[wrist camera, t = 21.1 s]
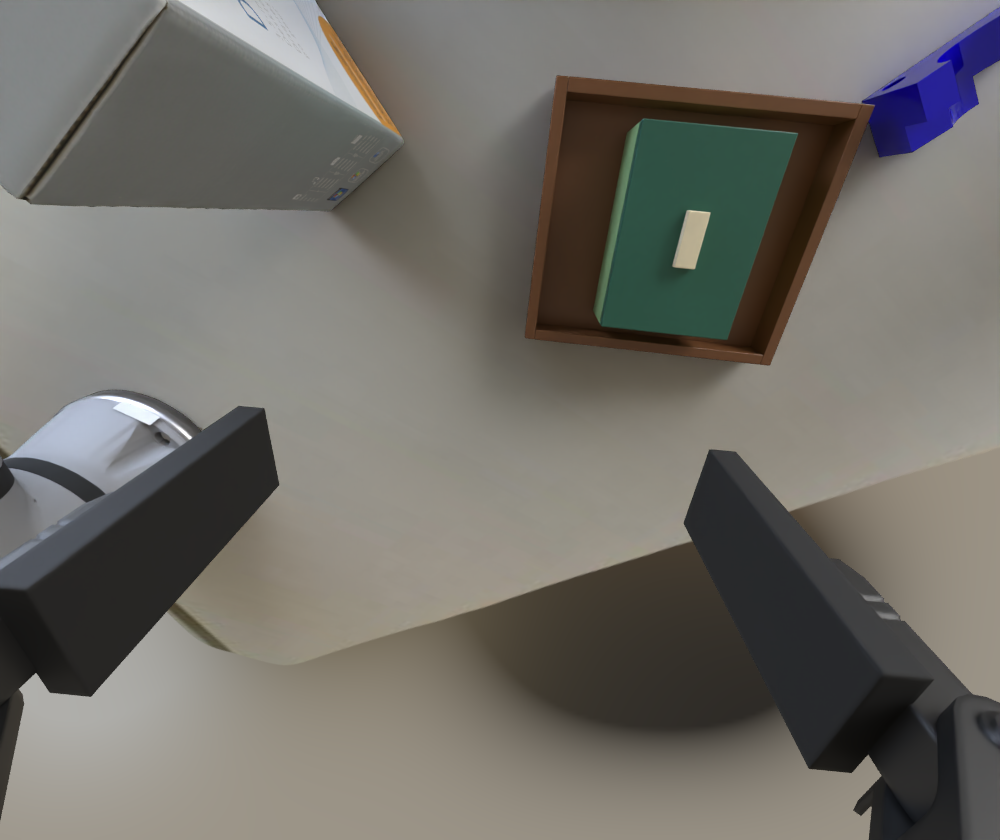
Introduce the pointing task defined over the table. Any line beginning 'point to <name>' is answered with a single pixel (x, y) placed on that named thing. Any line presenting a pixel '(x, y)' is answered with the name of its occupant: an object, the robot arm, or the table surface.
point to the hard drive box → (183, 105)
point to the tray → (591, 191)
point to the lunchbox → (687, 225)
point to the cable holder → (933, 90)
